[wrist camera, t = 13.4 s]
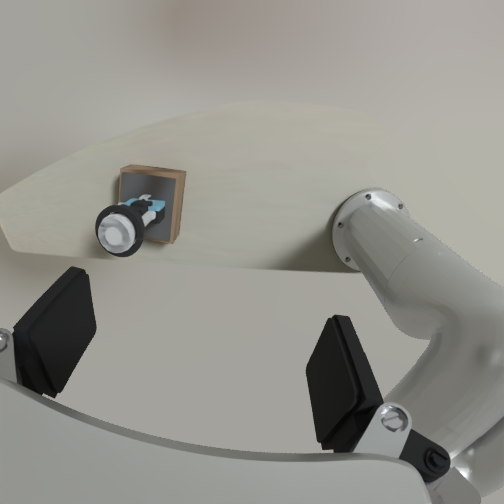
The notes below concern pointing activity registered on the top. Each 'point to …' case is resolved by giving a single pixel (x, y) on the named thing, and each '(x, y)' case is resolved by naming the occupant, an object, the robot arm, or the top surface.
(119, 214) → the push button
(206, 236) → the top surface
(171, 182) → the stand
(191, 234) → the top surface
